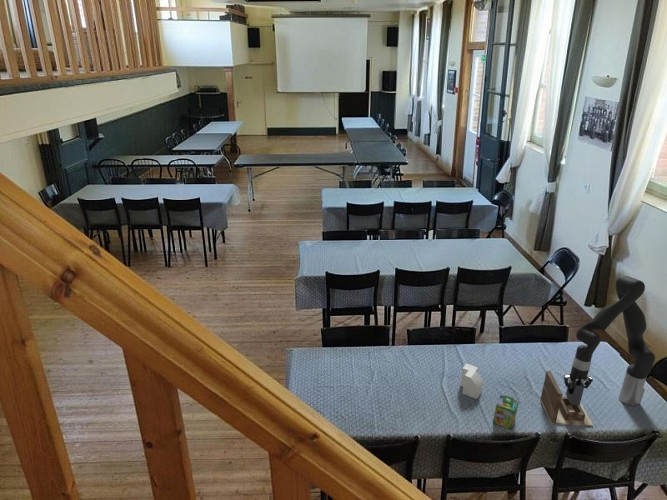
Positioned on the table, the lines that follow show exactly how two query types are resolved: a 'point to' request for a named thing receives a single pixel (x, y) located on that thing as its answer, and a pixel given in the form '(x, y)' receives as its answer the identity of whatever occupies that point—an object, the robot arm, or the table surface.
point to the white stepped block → (471, 381)
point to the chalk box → (505, 411)
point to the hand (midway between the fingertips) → (574, 393)
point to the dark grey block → (575, 393)
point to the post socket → (561, 405)
